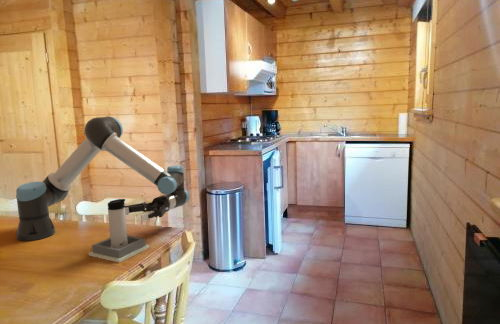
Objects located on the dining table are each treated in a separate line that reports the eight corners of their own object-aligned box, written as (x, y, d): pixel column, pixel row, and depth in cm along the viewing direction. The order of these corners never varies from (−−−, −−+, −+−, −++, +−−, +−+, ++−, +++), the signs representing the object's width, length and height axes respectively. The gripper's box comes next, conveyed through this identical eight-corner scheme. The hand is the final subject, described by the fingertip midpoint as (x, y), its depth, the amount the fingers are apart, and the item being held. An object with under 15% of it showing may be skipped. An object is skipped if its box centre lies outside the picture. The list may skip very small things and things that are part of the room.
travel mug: (125, 251, 143) (121, 201, 140) (108, 252, 143) (104, 201, 141) (131, 245, 150) (127, 197, 147) (115, 246, 150) (110, 197, 147)
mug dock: (88, 255, 143) (88, 245, 143) (120, 241, 157) (119, 232, 157) (119, 262, 136) (118, 252, 135) (149, 247, 150) (148, 237, 150)
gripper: (186, 214, 163) (153, 229, 145) (143, 208, 174) (107, 221, 156) (185, 198, 162) (152, 210, 143) (142, 193, 173) (105, 204, 155)
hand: (128, 216), depth 150 cm, fingers open, 13 cm apart
